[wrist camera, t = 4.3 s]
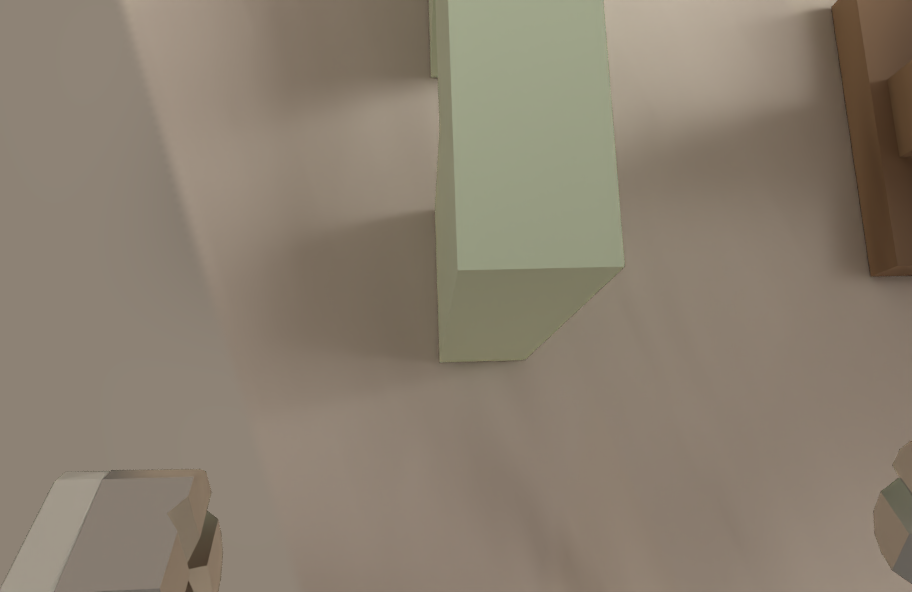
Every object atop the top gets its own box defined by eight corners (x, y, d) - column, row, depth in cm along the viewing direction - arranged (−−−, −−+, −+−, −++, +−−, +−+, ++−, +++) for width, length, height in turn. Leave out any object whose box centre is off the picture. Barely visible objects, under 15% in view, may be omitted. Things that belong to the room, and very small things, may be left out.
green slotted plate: (524, 359, 20) (624, 266, 10) (439, 362, 20) (457, 270, 10) (503, -55, 22) (567, -452, 13) (427, -54, 22) (431, -454, 13)
